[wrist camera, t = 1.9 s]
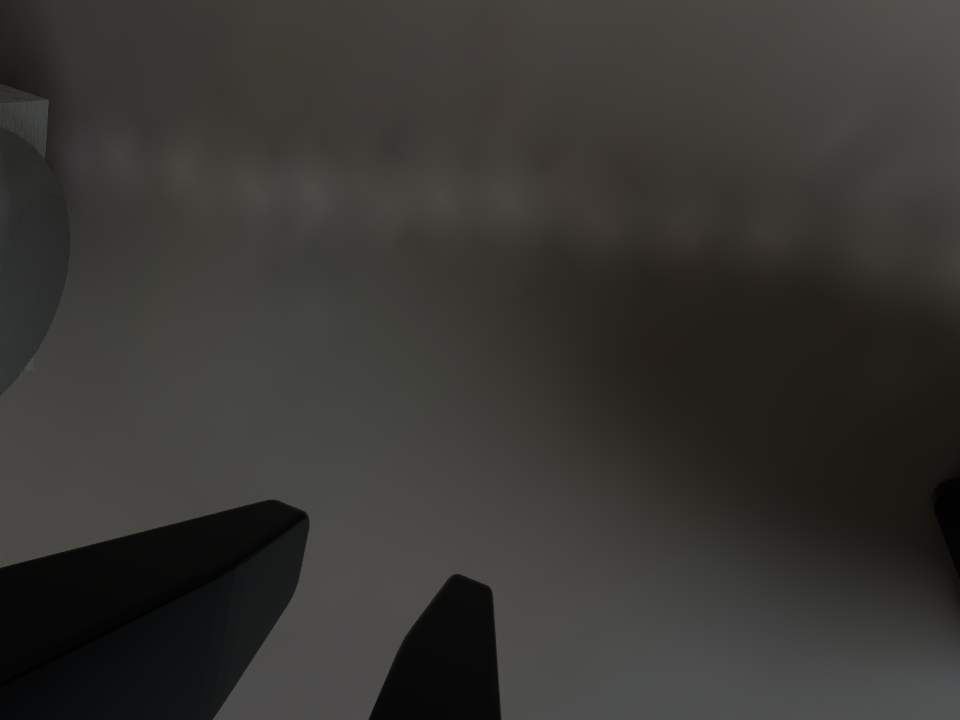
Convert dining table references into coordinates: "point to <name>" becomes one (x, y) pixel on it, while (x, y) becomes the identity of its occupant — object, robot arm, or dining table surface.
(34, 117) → the cube on metal disc
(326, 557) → the dining table surface
